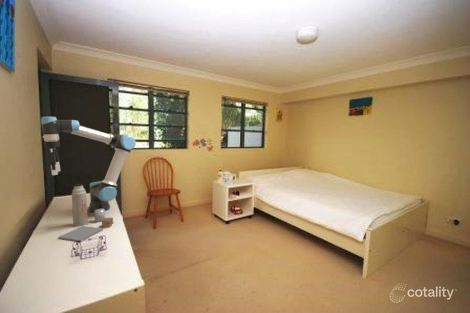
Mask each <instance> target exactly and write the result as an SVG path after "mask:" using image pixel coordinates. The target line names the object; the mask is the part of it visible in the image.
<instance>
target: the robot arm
mask: <svg viewBox="0 0 470 313" xmlns="http://www.w3.org/2000/svg"><path fill="white" fill-rule="evenodd" d="M40 120H41V123H40V124H41V128H42V135H43V136H42V138H43V141H44V148H49V149H48V153H49V157H48V158H49V163H48V165H49V166H50V171H51V176H56V175H57V176H58V174H59V172H61V166H60V162H61V160H60V157H59V152H58V148H59V147H60V146H61V141H60V136H59V135H60V133H59V132H64V133H69V134H72V135H76V136H80V137H84V138H87V139H90V140H95V141H98V142H102V143H105V144H106V145H109V146H112V147H114V150H115V152H114V155H113V156H112V159H111V161H110V164H109V167H108V169H107V172H106V175H105V177H104V179H103V180H101V181H94V182H91V183H89V195H90V196H89V197H90V199H89V200H90V203H89V206H88V207H87V212H89V213H95V210H96V209H104V210H105V211H108V210H109V209H111V205H110V203H109V202H110V201H112V200H114V199H115V198H117V193H118V191H117V187H118V184H117V182H118V179H119V176H120V173H121V171H122V169H123V166H124V164H125V161H126V158H127V155H129V154H131V151H132V150H133V149H134V148H135V147H136V145H137V144H136V143H137V142H136V139H135V138H134V137H133V136H131V135H128V134H115V133H112V132H111V133H106V132H102V131H100V130H97V129H93V128H89V127H86V126H83V125H80V122H79V120H75V119H57V117H56V116H42V117H41V118H40Z"/></svg>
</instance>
